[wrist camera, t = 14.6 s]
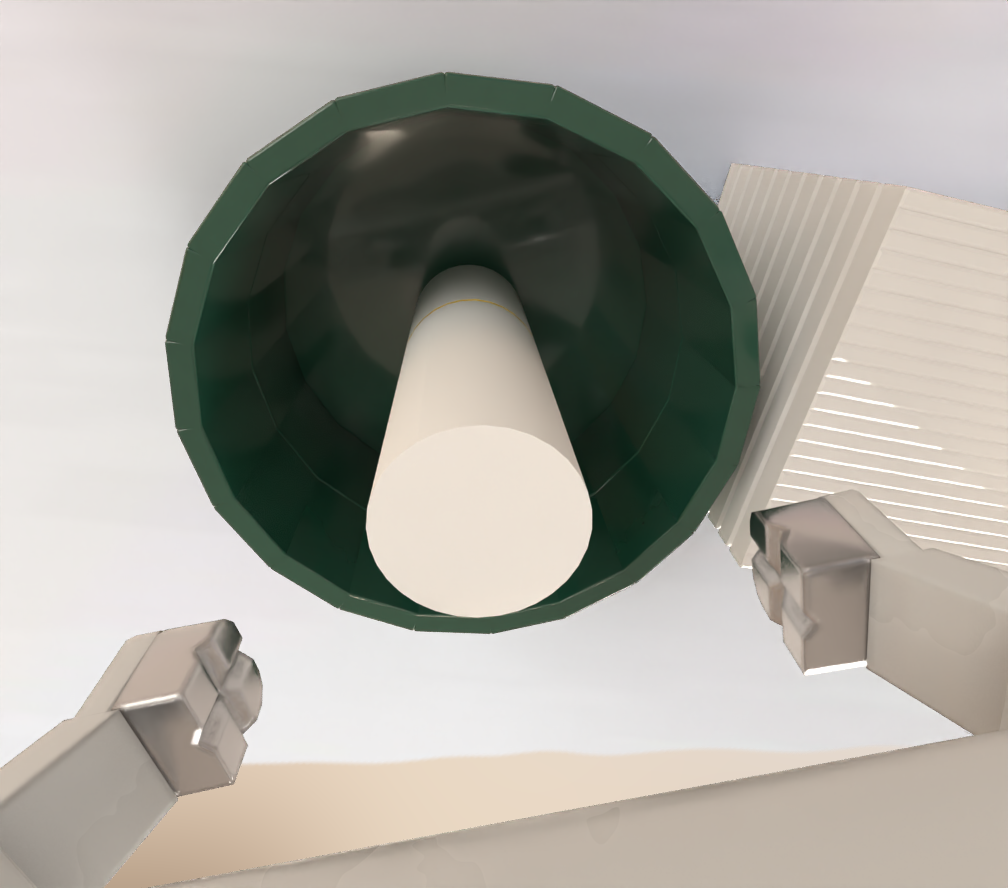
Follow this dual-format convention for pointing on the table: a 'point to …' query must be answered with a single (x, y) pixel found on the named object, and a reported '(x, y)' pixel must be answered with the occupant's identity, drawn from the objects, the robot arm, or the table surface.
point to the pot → (391, 305)
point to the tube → (476, 459)
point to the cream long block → (874, 357)
